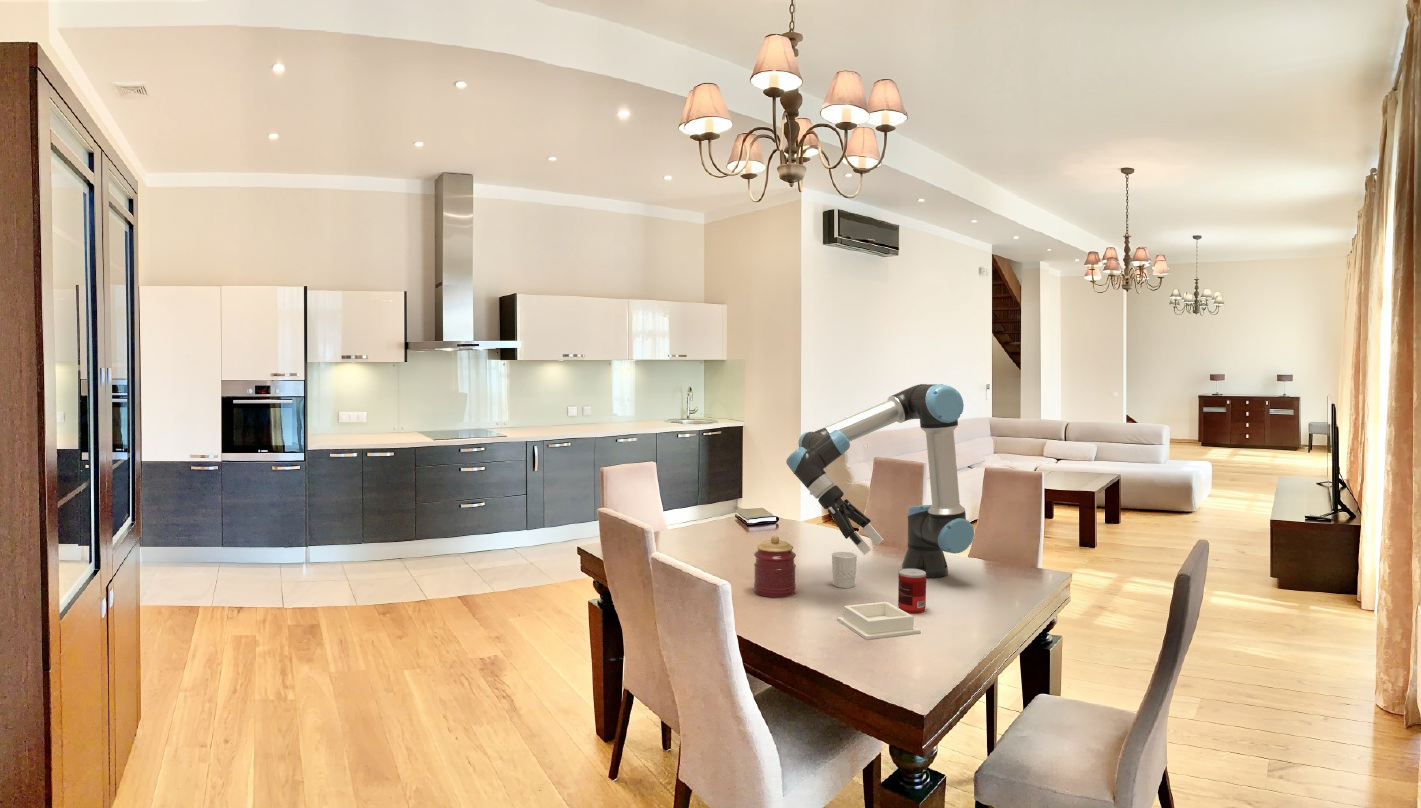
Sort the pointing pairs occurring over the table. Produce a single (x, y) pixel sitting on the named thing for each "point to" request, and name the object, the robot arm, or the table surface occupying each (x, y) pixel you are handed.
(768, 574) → the canister
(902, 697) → the table surface
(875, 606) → the white square tray
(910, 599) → the canned food
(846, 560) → the white cup
